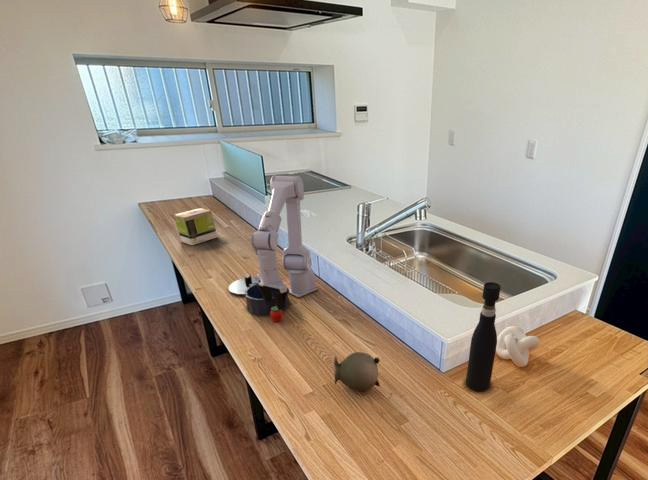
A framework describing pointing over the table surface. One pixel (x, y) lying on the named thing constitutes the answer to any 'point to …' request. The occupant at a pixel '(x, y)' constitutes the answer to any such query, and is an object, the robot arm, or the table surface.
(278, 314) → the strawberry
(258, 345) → the table surface
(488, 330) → the black bottle
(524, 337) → the white decorative knot
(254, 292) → the pot
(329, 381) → the table surface
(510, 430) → the table surface
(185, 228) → the tea box
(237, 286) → the lid
